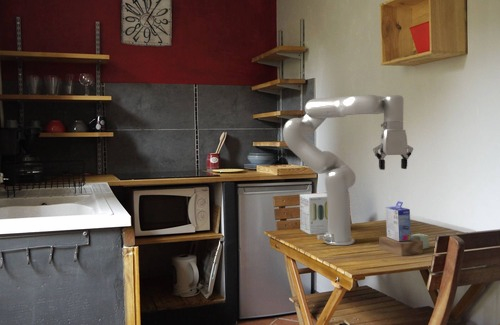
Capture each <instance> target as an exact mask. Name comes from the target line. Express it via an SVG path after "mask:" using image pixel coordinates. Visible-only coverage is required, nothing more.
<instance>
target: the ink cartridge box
mask: <svg viewBox="0 0 500 325" xmlns="http://www.w3.org/2000/svg"><path fill="white" fill-rule="evenodd" d="M399 204H400V205H399ZM402 206H403V201H399V200H398V201H397V202H396V205H395V206H394V205H393V206H388V207H385V219H386V221H385V224H386V236H387V237H388V238H391V239H394V240H397V241H408V240H411V235H412V232H411V231H412V230H411V229H412V228H411V227H412V226H411V212H410V210H411V209H409V208H407V207H402Z"/></svg>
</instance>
